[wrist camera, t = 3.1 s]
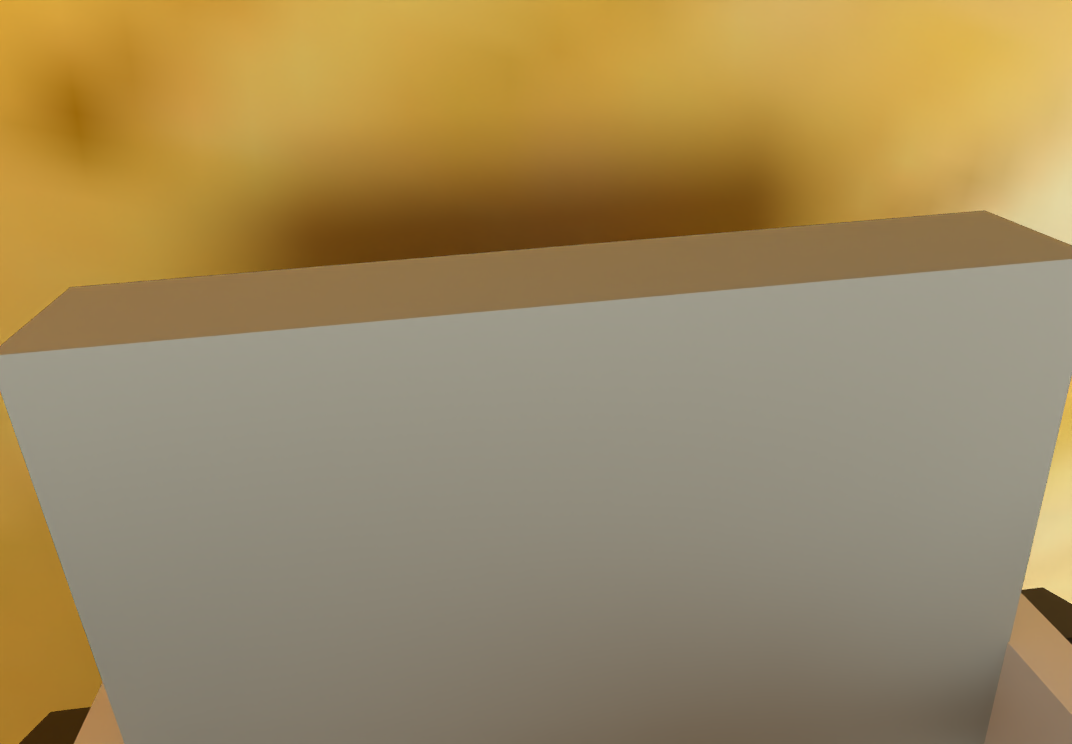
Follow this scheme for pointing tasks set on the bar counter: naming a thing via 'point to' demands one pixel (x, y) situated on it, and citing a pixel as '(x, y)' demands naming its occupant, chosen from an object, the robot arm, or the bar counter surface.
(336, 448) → the lid
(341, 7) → the bar counter surface
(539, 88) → the bar counter surface
